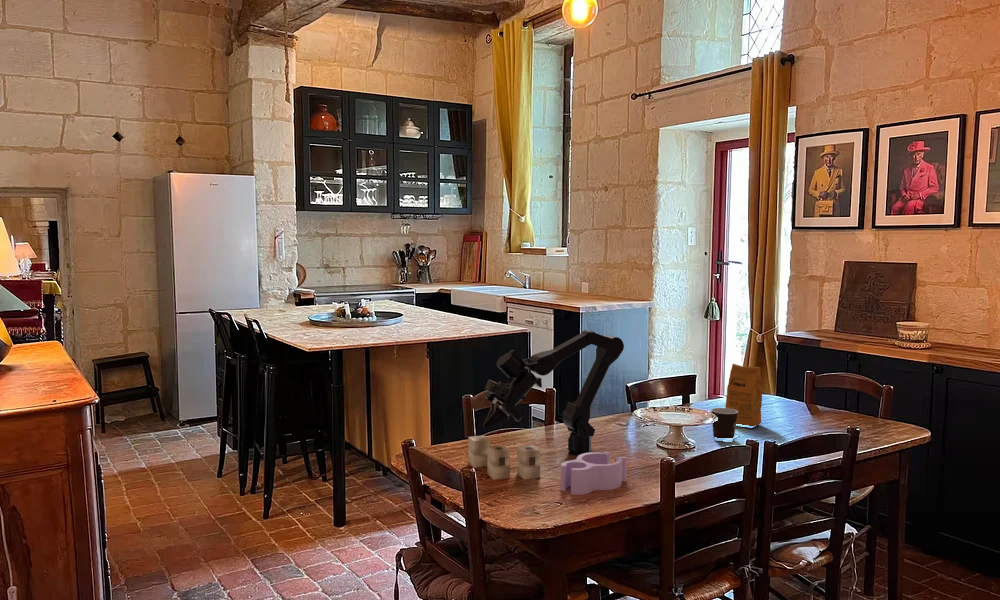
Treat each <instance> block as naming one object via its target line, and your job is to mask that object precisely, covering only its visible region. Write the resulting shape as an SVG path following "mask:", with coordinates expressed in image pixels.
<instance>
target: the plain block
mask: <svg viewBox="0 0 1000 600" xmlns="http://www.w3.org/2000/svg"><path fill="white" fill-rule="evenodd" d="M467 443H468V444H467V445H468V451H467V452H468V453H467V454H468V458H467V459H468V464H469V465H470V466H471V467H472V468H474V469H476V468H483V466H485V467H488V447H491V439H490V438H489V437H487V436H486V435H476V436H475V435H473V436H468V442H467Z"/></svg>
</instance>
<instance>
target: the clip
mask: <svg viewBox="0 0 1000 600" xmlns="http://www.w3.org/2000/svg"><path fill="white" fill-rule="evenodd" d="M614 459H615V460H614V462H611V463H610V451H609V450H605V451H604V452H600V451H598V452H597V451H595V452H594V451H592V452H590V453H584V454H581V455H577V457H576V459H572V460H566V461H562V462H561V464H560V491H563V492H564V491H567V488H570V494H571V495H575V496H576V495H577V496H581V495H587V494H590V493H591V492H594V491H611V490H616V489H619V488H620V487H621V486H622V485H623V483H622V482H627V471H628V469H627V468H628V466H627V463H628V457H627V456H619V455H618V456H615V457H614Z"/></svg>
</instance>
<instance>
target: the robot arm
mask: <svg viewBox="0 0 1000 600" xmlns="http://www.w3.org/2000/svg"><path fill="white" fill-rule="evenodd" d="M591 345H593V346H595V347H596V348H595V360H594V362H593V364H592V367H590V371H589V373H588V375H587V377H586V379H585V381H584V383H583V385H582V388H581V390H579V391H580V392H579V394H578V395H577V398H576V400H575V401H573V402H570V401H567V404H566V405H565V406H566V407H565V409H564V410H563V411H562V412H561V413H562V414H563V415H562V421H563V425H565V426H566V428H567V431H569V432H570V433H569V437H568V438H567V440H568V441H567V451H568V453H567V454H569V455H577V456H579V455H581V454H584V453H590V452H593V448H592V437H594V435H595V432H596V429H595V427H593V426H592V424H591V423H589V422H590V417H591V406H592V404H593V401H594V400H595V398H596V396H597V394H598V391H599V389H600V388H601V385H602V383H603V380H604V378H605V377H606V374H607V372H608V370H609V368H610V366H611V365H612V364H613V363H615V361H617V360H618V359H619V357H620V356H621V354H622V353H623V351H624V349H625V345H624V341H623V340H622V338H620V337H618V336H614V335H610V334H604V335H603V334H602V335H601V334H599V333H597V332H595V331H594V330H593V331H592V330H588V329H585V330H583V331H581V333H579V334H577V335H576V336H574V337H572V338H570V339H568V340H566V341H565V342H563V343H561V344H559V345H557V346H555V347H554V348H551V349H549V350H544V351H540V352H537V353H534V354H532V355H531V356H530V357H529V358H524V359H522V358H521V357H520V356H519V355H518V353H517V352H516V351H515V350H513V349H511V350H510V351H508V352H506V353H504V354H503V355H501V356H500V357H499V358H498V359H497V361H496V364H495V366H496V367H497V368H499V369H500V370H501V372H502V373H503V374H504V375H506V376H507V377H508V378H509V379H513V380H512V381H511V382H510V383H509V382H506V383H504V382H502V381H498V382H496V381H493V380H492V379H488V381H487V383H486V385H485V387H484V390H487V392H486V393H485V394H484V395H483V396H484V398H485V399H487V401H489V411H488V414H487V416H486V418H485V419H484V422H483V424H482V426H483V427H484V428H489V427H491V426H494V425H496V424H498V423H501V422H504V421H506V420H510V419H511V417H510V415H511V416H512V417H513V419H514V421H516V422H520V421H521V420H522V418H523V411H521V410H520V409H519V408H518V407H517V405H518V404H519V403H520V401H525V400H526V395H527V394H528V393H529V392H530V391H531V389H533V387H534V386H536V387H538V388H542V387H543V385H542V384H543V383H542V378H541V377H539V376H536V375H535V374H537V375H540V376H543V377H544V376H545V377H546V376H547V375H549V374H550V373H551V372H553V371H554V370H555V369H556V368H557V367H558V365H559V364H560V363H561V362H562V361H564V360H566V359H567V358H569V357H571V356H573V355H575V354H576V353H578V352H580V351H582V350H584V349H585V348H587V347H588V346H591ZM526 369H527V370H530V371H527V370H526ZM534 373H535V374H534Z"/></svg>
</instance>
